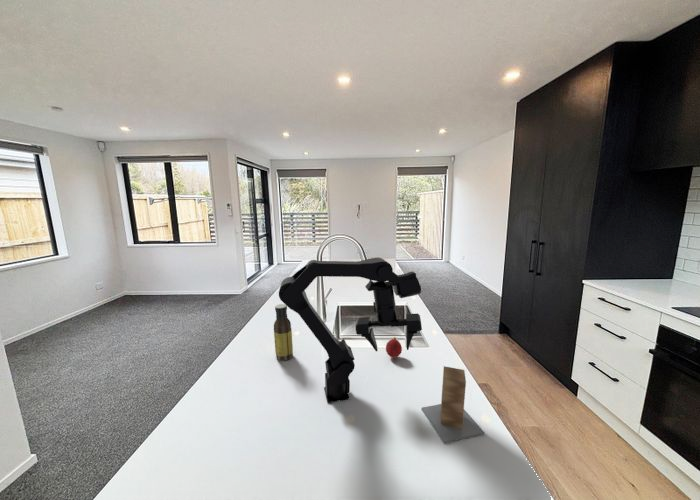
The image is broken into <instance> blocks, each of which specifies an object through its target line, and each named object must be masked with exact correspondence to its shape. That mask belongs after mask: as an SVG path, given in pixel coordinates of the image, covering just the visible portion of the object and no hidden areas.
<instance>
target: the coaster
mask: <svg viewBox="0 0 700 500" xmlns="http://www.w3.org/2000/svg"><path fill="white" fill-rule="evenodd" d="M421 411H422V412H423V414H424V416H425V417H426V418H427V420H428V422H429V423H430V425H431V426H432V427H433V429H434V430H435V432H436V434H437V435H438V437H439V438H440V439H441V441H442V442H443V444H444V445H445V444H448V443H449V444H450V443H452V442H457V441H462V440H465V439H466V440H467V439H471V438H475V437H478V436H479V437H480V436H484V435H485V434H486V433H485V430H483V429H482V427H481V426H480V425H479V424H478V423H477V422H476V420H475V419H473V417H472V416H471V415H470V414H469V413H468V412H467V411H466V410H465V409H464V412H463V424H462V429H458V428H454V427H450V426H446V425H442V424H441V403H438V404H434V405H427V406H423V407H421Z"/></svg>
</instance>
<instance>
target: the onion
mask: <svg viewBox="0 0 700 500" xmlns="http://www.w3.org/2000/svg"><path fill="white" fill-rule="evenodd" d="M402 347H403V346H402V344H401V342H399V340H398V339H397V337H396V336H394V337H392V338H391V339H390V340H388V342H386V345H385V352H386V354H387V355H388V356H389V357H390V358H392V359H396V358H397V357H399V356H400V355H401V354H402V351H403V348H402Z"/></svg>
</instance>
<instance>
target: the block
mask: <svg viewBox="0 0 700 500" xmlns="http://www.w3.org/2000/svg"><path fill="white" fill-rule="evenodd" d="M466 384H467V380H466V373H465V369H463V368H462V369H461V368H455V367H450V366H444V365H443V373H442V386H441V387H442V388H441V389H442V390H441V400H440V401H441V403H440V404H441V424H442V425H446V426H450V427H454V428H458V429H462V424H463V412H464V410H465V398H466V397H465V396H466Z"/></svg>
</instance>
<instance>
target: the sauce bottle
mask: <svg viewBox="0 0 700 500" xmlns="http://www.w3.org/2000/svg"><path fill="white" fill-rule="evenodd" d="M274 307H275V308H274V309H275V315H276V316H275V318H276V319H275V321H274V323H273V337H274V338H273V339H274V350H275V352H274V353H275V358H276V359H277V360H278V361H281V362H285V361H289V360H291V359H292V357H293V356H294V352H293V350H294V348H293V347H294V346H293V334H292V333H293V331H292V323H291V321H290V319H289V318H288V313H287V311H288V306H287V305H285V304H284V303H280V304H277V305H276V306H274Z"/></svg>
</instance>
